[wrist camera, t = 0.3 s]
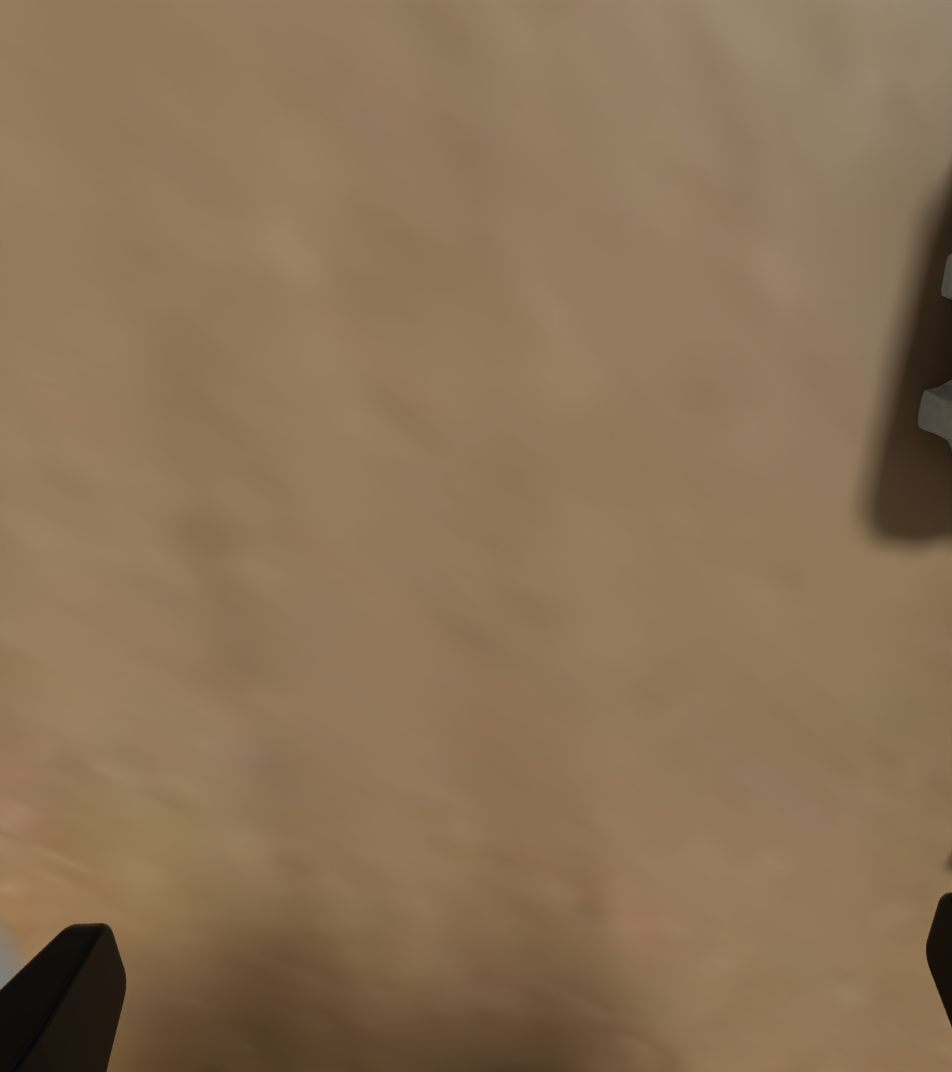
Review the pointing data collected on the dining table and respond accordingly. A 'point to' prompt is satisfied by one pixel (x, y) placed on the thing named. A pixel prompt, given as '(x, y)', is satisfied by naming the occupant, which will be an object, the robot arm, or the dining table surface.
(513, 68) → the dining table surface
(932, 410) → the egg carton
